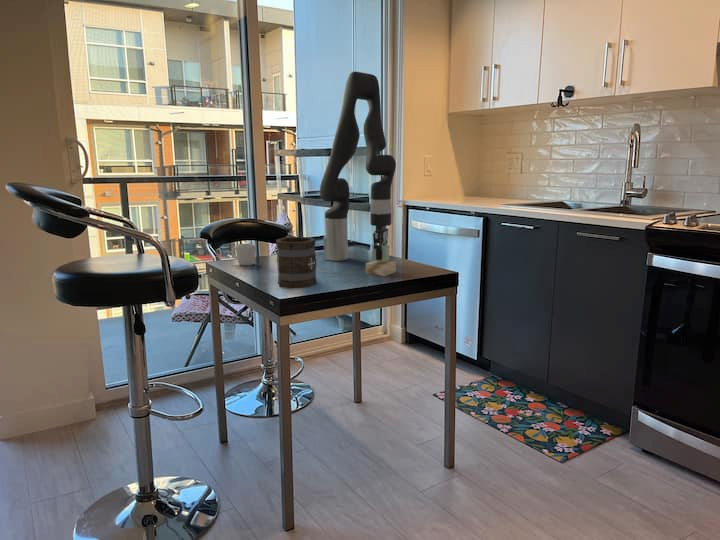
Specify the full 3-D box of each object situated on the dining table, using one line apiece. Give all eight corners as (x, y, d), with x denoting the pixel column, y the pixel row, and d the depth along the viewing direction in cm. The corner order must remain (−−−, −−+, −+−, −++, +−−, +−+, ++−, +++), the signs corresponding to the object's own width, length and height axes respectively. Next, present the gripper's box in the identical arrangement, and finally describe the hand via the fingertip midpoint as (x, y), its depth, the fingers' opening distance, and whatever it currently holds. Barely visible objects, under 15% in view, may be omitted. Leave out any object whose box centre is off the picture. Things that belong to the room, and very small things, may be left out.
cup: (226, 265, 206) (225, 245, 205) (238, 261, 214) (237, 242, 212) (249, 267, 202) (248, 247, 201) (260, 263, 210) (259, 243, 208)
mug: (312, 289, 168) (311, 243, 165) (272, 288, 170) (270, 242, 167) (324, 275, 187) (322, 234, 184) (287, 274, 189) (285, 234, 186)
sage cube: (372, 260, 188) (372, 247, 187) (376, 258, 193) (376, 244, 192) (386, 261, 187) (386, 247, 186) (389, 258, 191) (389, 245, 190)
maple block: (365, 274, 190) (365, 263, 189) (378, 270, 196) (377, 259, 195) (384, 276, 185) (384, 265, 185) (395, 272, 192) (395, 262, 191)
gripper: (375, 209, 194) (375, 254, 197) (365, 213, 180) (365, 261, 184) (395, 210, 192) (395, 255, 195) (386, 214, 178) (386, 262, 182)
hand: (380, 258), depth 190 cm, fingers closed on sage cube, 4 cm apart
